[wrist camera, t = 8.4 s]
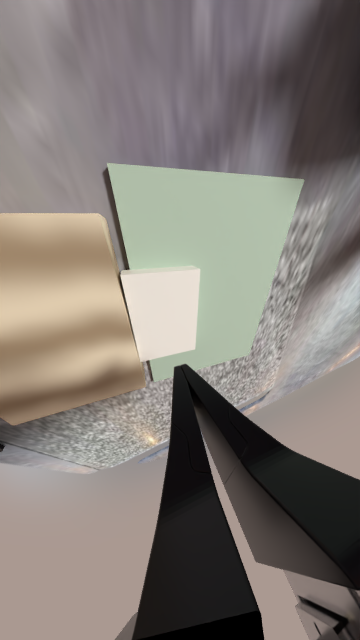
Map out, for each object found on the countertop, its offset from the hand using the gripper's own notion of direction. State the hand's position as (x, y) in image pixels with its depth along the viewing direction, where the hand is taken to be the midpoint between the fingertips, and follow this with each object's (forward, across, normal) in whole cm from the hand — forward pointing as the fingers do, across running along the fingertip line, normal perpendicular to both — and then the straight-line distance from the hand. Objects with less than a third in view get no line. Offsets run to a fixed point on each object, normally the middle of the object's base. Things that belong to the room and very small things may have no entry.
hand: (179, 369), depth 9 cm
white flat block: (+8, 0, 0) cm, 8 cm away
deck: (+9, +10, 0) cm, 13 cm away
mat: (+9, -7, 0) cm, 11 cm away
